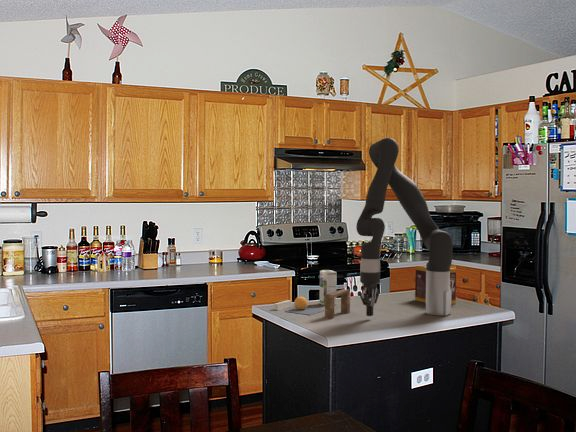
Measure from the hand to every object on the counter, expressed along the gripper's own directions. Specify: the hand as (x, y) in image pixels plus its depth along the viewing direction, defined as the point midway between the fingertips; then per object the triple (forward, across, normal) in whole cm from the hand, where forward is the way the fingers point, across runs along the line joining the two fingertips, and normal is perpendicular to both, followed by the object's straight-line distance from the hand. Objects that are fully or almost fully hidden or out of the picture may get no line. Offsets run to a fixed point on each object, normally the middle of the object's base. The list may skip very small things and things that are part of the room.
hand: (369, 315), depth 233 cm
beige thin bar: (+2, 0, +40) cm, 40 cm away
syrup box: (+2, +18, +29) cm, 34 cm away
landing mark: (+2, 0, +29) cm, 29 cm away
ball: (-1, +1, +32) cm, 32 cm away
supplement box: (+2, +50, -7) cm, 51 cm away
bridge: (+2, 0, +14) cm, 14 cm away
